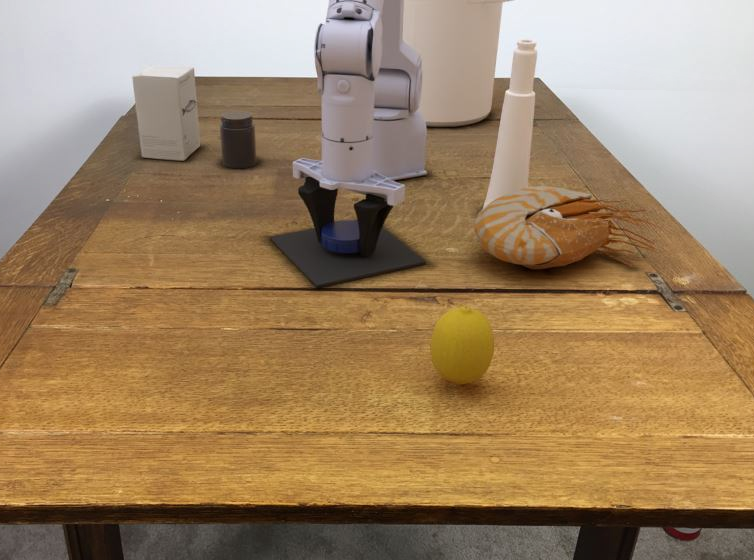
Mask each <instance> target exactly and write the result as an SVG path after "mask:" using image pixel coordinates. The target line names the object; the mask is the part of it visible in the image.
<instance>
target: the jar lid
mask: <svg viewBox="0 0 754 560" xmlns="http://www.w3.org/2000/svg"><path fill="white" fill-rule="evenodd" d="M321 243H322V245H323V247H324V248H325V249H327V250H329V251H332V252H336V253H346V254H348V253H357V252H360V251H359V225H358V221H356V220H350V219H341V220H334V222H330V223H328V224H326V225H324V226H323V227H322V235H321Z"/></svg>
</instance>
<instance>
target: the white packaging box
mask: <svg viewBox="0 0 754 560" xmlns="http://www.w3.org/2000/svg"><path fill="white" fill-rule="evenodd" d="M131 79H132V86H133V95H134V101H135V112H136V120H137V127H138V128H137V129H138V136H139V137H138V138H139V144H140V145H139V146H140V152H141V153H140V154H141V158H145V159H156V160H167V161H168V160H169V161H181V162H184V161H186V160H187V159H188V157H189V156H191V155H192V154H193V153H194V152H195V151H196V150H197V149H199V148H200V147H201V136H200V135H201V134H200V122H199V110H198V100H197V99H198V98H197V87H196V74H195V67H194V66H179V65H158V64H157V65H154V64H153V65H152V64H151V65H149V66H147V67H146V68H144V69H142V70H140V71H139V72H137V73H135V74H134V75H132V78H131Z"/></svg>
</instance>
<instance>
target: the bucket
mask: <svg viewBox="0 0 754 560" xmlns="http://www.w3.org/2000/svg"><path fill="white" fill-rule="evenodd" d="M513 1H514V0H404V11H403V41H404V42H405V43H406V44H408V45H409V46H410V47H411V48H413V49H414V50H415V51H417V52H418V53H419V54H420V58H421V59H422V93H421V101H420V106H419V109H418V111H419V112H420V113H421V114H422V115H423V117H424V119H425V123H426V127H430V128H431V127H433V128H453V127H463V126H468V125H472V124H475V123H476V124H477V123H478V122H480V121H483V120H485V119H486V118H487V117H488V116H489V114H490V112H491V111H492V103H493V97H494V96H493V95H494V86H495V76H496V66H497V60H498V59H497V57H498V49H499V39H500V30H501V22H502V12H503V3H506V2H513Z"/></svg>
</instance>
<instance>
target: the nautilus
mask: <svg viewBox="0 0 754 560" xmlns="http://www.w3.org/2000/svg"><path fill="white" fill-rule="evenodd" d="M592 197H593V193H592V194H591V193H586V192H581V191H577V190H571V189H566V188H562V187H561V188H560V187H558V186H557V187H555V186H542V185H541V186H539V185H536V186H535V185H534V186H530V187H528V188H525V189H520V190H517V191H514V192H512V193H509V194H507V195H505V196H502V197H500V198H497V199H495V200H494V201H492V202H491V203H490V204H488V205H487V206H486V207H485V208H484V209H483V208H482V209H481V210H480V211H479V212H478V213H477V215H476V217H475V219H474V221H473V230H474V233H475V235H476V236H477V238H478V241H479V243H480V247H481V249H482V250H484V251H485V252H487V254H489V255H491V256H492V257H494V258H496V259H498V260H501V261H502V262H507V263H511V264H515V265H519V266H520V265H521V266H523V267H525V268H527V269H530V270H543V269H549V268H556V267H564V266H567V265H570V264H573V263H576V262H579V261H582V260H583V259H585V257H587V256H589V255H590V254H593V253H597V254H599V253H600V254H603V255H605V256H608V257H610V258H611V259H613V260H616V261H618V262H621V263H624V264H625V265H628V266H630V267H633V265H632V264H630V263H628V262H626V261H624V260H622V259H619V258H617V257H615V256H613V255H612V254H613V253H616V254H619V255H622V256H624V257H628V258H631V259H634V257H632V256H631V255H628V254H625V253H623V252H627V253H631V254H635V252H634V251H631V250H628V249H625V248H624V249H623V248H622V249H615V248H612V247H609V246H607V245H609V244H610V243H612V244H614V243H622V244H627V245H630V246H634V247H637V248H641V249H645V250H647V251H652V252H655V253H657V250H656V248H655V247H653V246H652V245H655V242H653V241H652V240H650V239H648V238H646V237H644V236H641V235H640V234H638V233H635V232H633V231H631V230H629V229H627V228H623V227H618V226H617V227H616V226H615V224H614V223H613V222H612V221H611V220H608V219H612V218H613V219H617V220H620V221H624V222H627V223H630V224H632V225H635V226H637V227H638V228H640V229H643V228H642V225H641V224H640V223H639V222H643V223H646V224H649V225H652V226H653V227H654V226H655V227H657V228H658V229H661V227H660V226H659V225H657V224H655V223H653V222H650V221H647V220H644V219H640V218H637V217H632V216H631V215H630V214H629V213H627V212H630V213H639V212H646V211H647V209H639V210H631V209H620V208H618V207H617V206H614V205H610V204H600V203H599V202H604V203H621V202H622V203H623V202H625V201H627V199H623V200H611V201H606V200H603V199H592ZM601 210H608V211H611V212H600V211H601ZM614 212H615V213H620V214H623V215H618V214H615V213H614ZM628 219H630V220H628ZM631 220H632V221H631ZM612 230H615V231H616V232H618V230H620V231H625V232H628V233H629V234H632V235H634V236H636V237H639V238H641V239H643V240H645V241H647V242H649V243H651V244H652V245H650V244H648V243H646V242H644V241H641V240H639V239H637V238H635V237H632V236H630V235H628V234H623V233H615V232H613V231H612ZM610 236H613V237H610ZM616 236H617V237H616ZM619 237H626V238H627V239H630V240H632V241H635V242H637V243H639V244H641V245H638V244H635V243H632V242H629V241H626V240H622V238H619ZM642 245H644V246H642ZM646 246H647V247H646ZM600 249H603V250H604V251H603V250H600Z"/></svg>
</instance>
